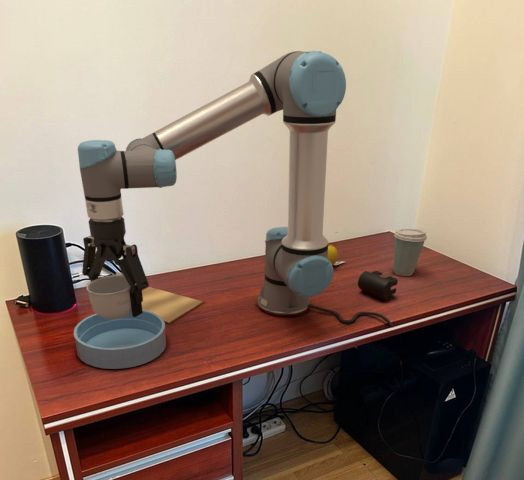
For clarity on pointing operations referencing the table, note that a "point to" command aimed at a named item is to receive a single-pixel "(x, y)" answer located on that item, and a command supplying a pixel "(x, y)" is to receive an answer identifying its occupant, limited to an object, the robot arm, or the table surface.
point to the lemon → (332, 254)
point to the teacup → (110, 296)
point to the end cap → (377, 285)
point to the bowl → (120, 340)
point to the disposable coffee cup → (407, 250)
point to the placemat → (167, 304)
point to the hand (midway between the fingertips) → (119, 309)
